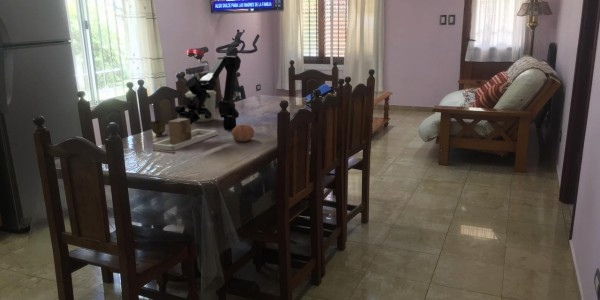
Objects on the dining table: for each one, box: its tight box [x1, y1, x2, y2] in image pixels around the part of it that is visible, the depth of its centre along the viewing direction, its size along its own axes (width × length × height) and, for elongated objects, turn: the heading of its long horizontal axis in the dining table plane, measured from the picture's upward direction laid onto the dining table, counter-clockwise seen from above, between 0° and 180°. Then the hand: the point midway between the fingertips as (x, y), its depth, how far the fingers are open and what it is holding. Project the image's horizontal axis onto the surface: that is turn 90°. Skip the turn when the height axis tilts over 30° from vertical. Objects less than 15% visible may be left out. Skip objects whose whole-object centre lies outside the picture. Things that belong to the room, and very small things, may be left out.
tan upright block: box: [167, 117, 193, 145], centre depth 223 cm, size 8×6×11 cm
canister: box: [184, 89, 217, 123], centre depth 279 cm, size 18×18×21 cm
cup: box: [149, 119, 166, 138], centre depth 244 cm, size 8×7×8 cm
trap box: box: [151, 128, 218, 154], centre depth 227 cm, size 32×12×4 cm, turn 152°
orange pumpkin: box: [231, 124, 255, 143], centre depth 230 cm, size 11×11×8 cm
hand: (186, 126), depth 226 cm, fingers closed
